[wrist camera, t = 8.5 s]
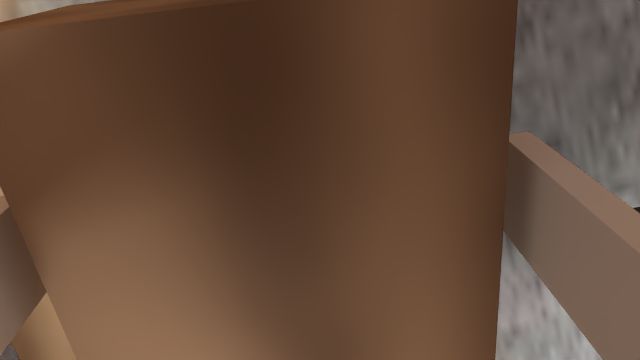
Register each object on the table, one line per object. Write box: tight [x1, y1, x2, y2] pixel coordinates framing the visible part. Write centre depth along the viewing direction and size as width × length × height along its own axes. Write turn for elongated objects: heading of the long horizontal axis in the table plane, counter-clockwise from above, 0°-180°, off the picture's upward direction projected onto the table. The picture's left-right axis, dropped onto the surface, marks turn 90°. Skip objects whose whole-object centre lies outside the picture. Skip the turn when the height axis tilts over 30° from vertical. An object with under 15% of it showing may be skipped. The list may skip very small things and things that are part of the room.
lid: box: [0, 0, 518, 360], centre depth 14 cm, size 11×11×6 cm
